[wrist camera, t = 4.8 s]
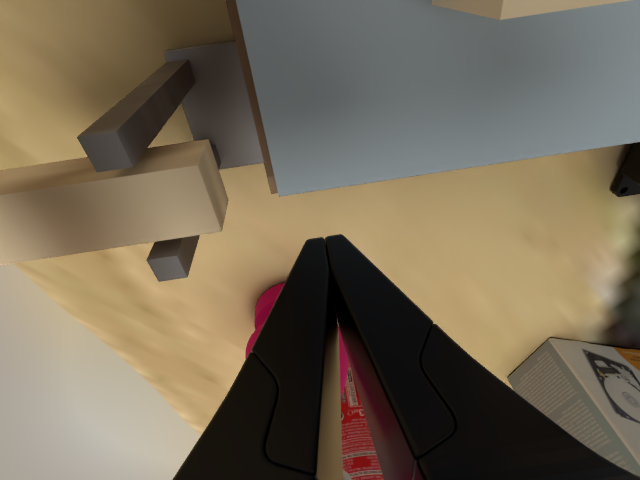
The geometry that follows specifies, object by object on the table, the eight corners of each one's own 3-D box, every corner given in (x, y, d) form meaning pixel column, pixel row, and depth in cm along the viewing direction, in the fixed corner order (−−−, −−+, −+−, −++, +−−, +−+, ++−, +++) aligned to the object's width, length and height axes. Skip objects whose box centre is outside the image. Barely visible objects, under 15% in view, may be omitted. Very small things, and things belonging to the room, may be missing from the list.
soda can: (291, 381, 35) (297, 554, 24) (343, 345, 32) (374, 524, 22) (341, 401, 38) (365, 561, 28) (392, 370, 35) (439, 535, 25)
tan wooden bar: (208, 139, 12) (197, 165, 10) (228, 200, 13) (221, 231, 12) (-31, 174, 12) (-79, 206, 10) (16, 231, 13) (-19, 268, 12)
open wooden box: (659, -260, 12) (1331, -664, 4) (550, 114, 20) (721, 204, 12) (88, -176, 12) (-250, -438, 4) (207, 166, 20) (163, 289, 12)
